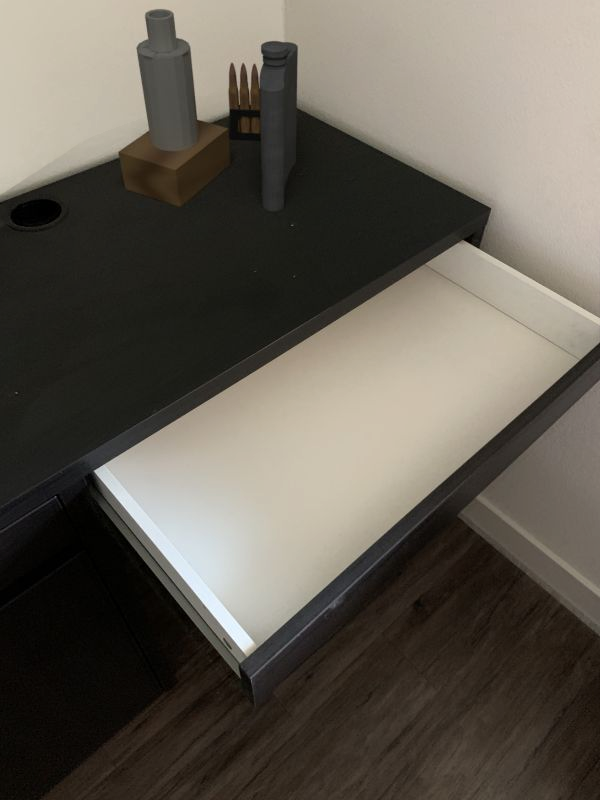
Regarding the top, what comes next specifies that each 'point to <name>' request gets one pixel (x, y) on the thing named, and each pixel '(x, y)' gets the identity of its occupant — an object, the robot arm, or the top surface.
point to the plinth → (175, 165)
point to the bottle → (167, 84)
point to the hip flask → (277, 119)
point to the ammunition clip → (244, 105)
